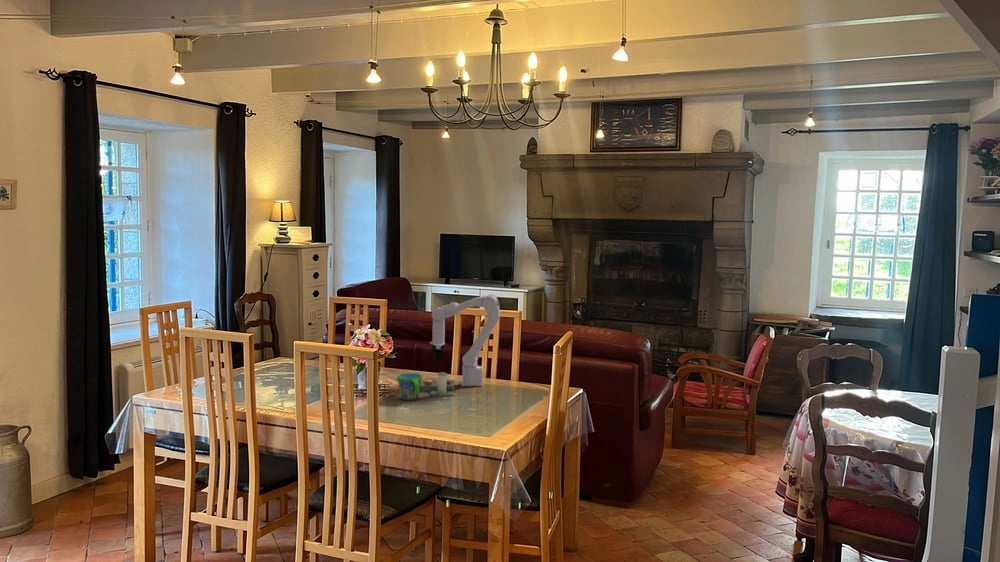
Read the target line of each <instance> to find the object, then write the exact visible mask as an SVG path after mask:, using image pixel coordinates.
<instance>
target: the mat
mask: <svg viewBox="0 0 1000 562" xmlns="http://www.w3.org/2000/svg"><path fill="white" fill-rule="evenodd" d="M430 396H431V397H453V396H454V392H453V391H446V394H438V393H437V391H431V392H430Z"/></svg>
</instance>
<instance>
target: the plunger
mask: <svg viewBox="0 0 1000 562" xmlns="http://www.w3.org/2000/svg"><path fill="white" fill-rule="evenodd" d="M423 380H424V382H425V384H431V382H432V380H433V379H423Z"/></svg>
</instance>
